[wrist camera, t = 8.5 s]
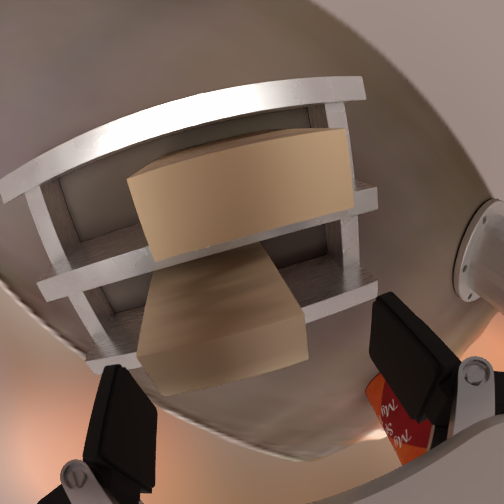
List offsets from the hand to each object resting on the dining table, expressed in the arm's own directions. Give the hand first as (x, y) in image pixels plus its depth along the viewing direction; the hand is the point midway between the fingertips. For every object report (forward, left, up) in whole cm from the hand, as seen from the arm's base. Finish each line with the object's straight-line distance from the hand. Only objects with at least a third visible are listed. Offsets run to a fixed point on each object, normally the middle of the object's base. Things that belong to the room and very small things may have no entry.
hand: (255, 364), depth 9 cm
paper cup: (-14, +22, -10) cm, 28 cm away
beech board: (+1, 0, -9) cm, 9 cm away
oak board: (-1, -6, -9) cm, 11 cm away
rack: (+1, -3, -9) cm, 10 cm away
